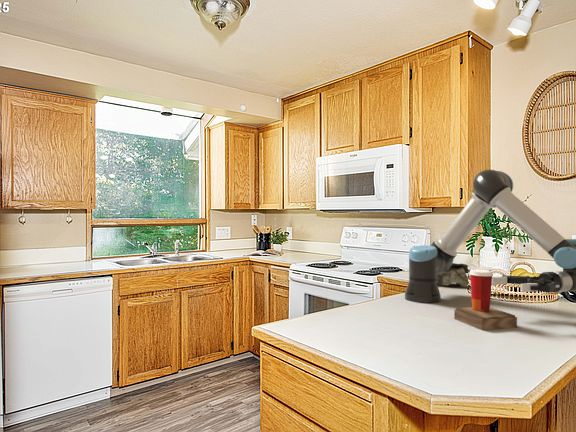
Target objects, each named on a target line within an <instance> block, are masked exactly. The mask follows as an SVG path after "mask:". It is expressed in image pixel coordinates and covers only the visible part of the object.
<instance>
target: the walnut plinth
mask: <svg viewBox="0 0 576 432" xmlns="http://www.w3.org/2000/svg"><path fill="white" fill-rule="evenodd" d="M453 313H454V316H453V317H454V320H456V321H459V322H461V323H464V324H465V325H466V324H467V325H469V326H471V327H474V328H475V329H479V330H481V331H489V330H500V329H501V330H502V329H513V328H518V317H517V316H516V314H512V313H509V312H506V311H503V310H499V309H497V308H494V307H491V306H490V309H489V311H487V312H482V311H476V310H473V309H472V306H466V307H457V308H456V307H455V309H454V312H453Z"/></svg>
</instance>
